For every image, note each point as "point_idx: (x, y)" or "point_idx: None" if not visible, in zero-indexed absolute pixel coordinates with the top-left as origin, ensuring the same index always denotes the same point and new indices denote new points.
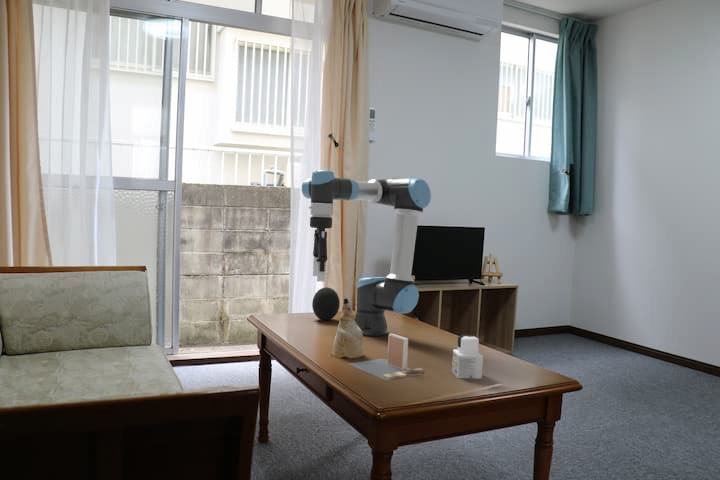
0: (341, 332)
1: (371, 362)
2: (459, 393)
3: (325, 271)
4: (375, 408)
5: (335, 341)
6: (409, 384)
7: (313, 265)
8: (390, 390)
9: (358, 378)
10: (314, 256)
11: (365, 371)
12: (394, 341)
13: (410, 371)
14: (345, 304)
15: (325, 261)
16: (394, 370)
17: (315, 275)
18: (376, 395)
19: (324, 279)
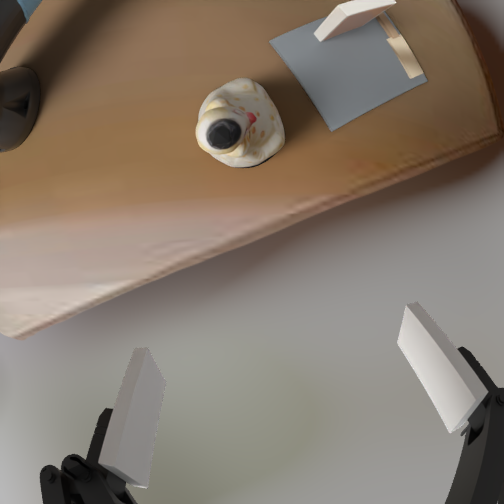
0: (278, 147)
1: (314, 73)
2: (443, 2)
3: (451, 343)
4: (498, 136)
5: (259, 162)
6: (426, 46)
7: (154, 438)
8: (454, 89)
9: (410, 124)
10: (127, 489)
11: (384, 102)
12: (362, 15)
13: (390, 22)
14: (240, 137)
15: (499, 391)
16: (368, 42)
17: (160, 374)
18: (471, 119)
19: (422, 314)
